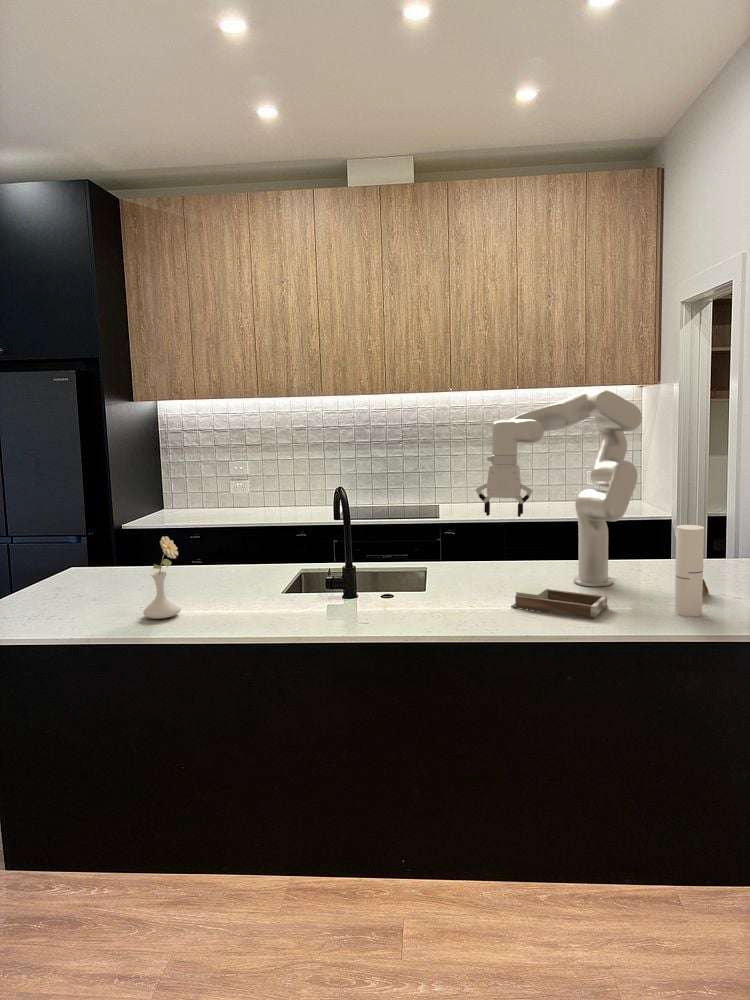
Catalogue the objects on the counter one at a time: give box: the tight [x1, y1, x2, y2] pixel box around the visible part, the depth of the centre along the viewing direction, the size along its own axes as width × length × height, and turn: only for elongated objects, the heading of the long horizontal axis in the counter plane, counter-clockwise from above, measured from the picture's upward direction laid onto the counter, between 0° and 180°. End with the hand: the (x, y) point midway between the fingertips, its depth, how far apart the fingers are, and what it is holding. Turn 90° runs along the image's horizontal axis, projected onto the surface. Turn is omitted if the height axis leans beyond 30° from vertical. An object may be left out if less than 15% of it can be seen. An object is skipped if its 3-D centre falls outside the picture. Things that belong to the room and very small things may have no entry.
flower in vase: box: [143, 535, 182, 620], centre depth 223 cm, size 13×11×25 cm
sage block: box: [515, 585, 549, 599], centre depth 220 cm, size 8×7×4 cm
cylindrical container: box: [674, 524, 705, 617], centre depth 204 cm, size 7×7×25 cm
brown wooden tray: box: [510, 588, 608, 621], centre depth 215 cm, size 13×25×4 cm, turn 55°
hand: (503, 515), depth 223 cm, fingers open, 9 cm apart
